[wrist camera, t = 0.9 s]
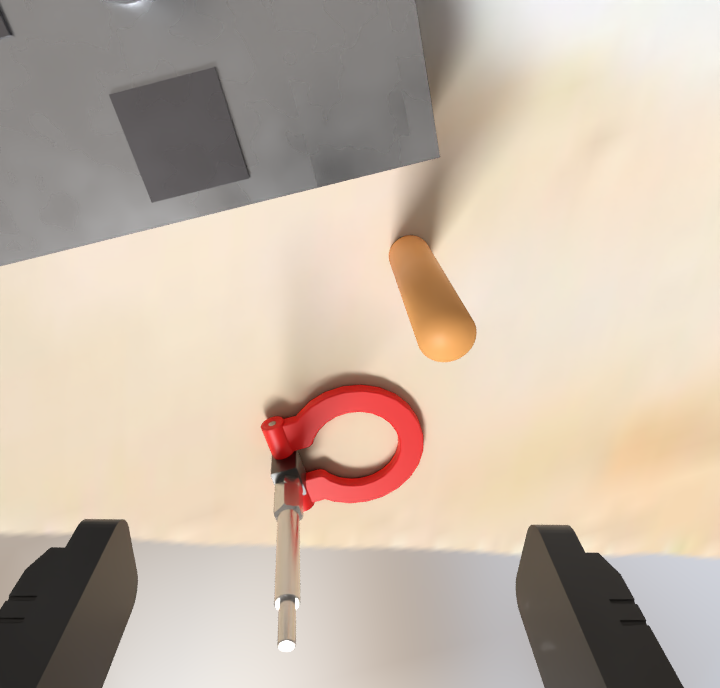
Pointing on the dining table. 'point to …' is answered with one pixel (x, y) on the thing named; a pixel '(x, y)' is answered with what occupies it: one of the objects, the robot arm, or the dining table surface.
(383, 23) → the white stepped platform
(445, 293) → the rounded pin
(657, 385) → the dining table surface
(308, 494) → the tow hook
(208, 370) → the dining table surface
